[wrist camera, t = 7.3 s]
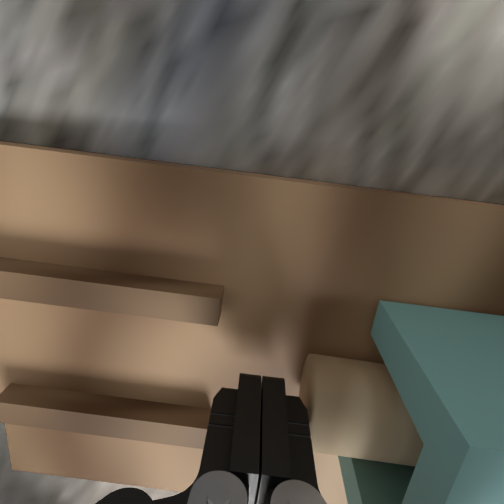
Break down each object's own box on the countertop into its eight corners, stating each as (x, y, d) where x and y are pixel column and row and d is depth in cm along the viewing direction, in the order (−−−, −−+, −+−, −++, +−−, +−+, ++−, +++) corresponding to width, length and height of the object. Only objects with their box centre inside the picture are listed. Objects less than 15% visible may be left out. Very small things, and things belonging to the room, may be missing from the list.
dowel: (534, 367, 13) (605, 442, 10) (499, 426, 14) (554, 508, 11) (311, 335, 13) (321, 402, 10) (295, 397, 14) (300, 472, 11)
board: (677, 227, 12) (1346, 399, 4) (518, 518, 17) (716, 833, 9) (-19, 138, 12) (-485, 164, 5) (23, 454, 17) (-172, 715, 9)
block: (587, 326, 12) (849, 495, 7) (510, 477, 14) (658, 692, 9) (379, 300, 12) (469, 446, 7) (337, 454, 14) (378, 656, 9)
